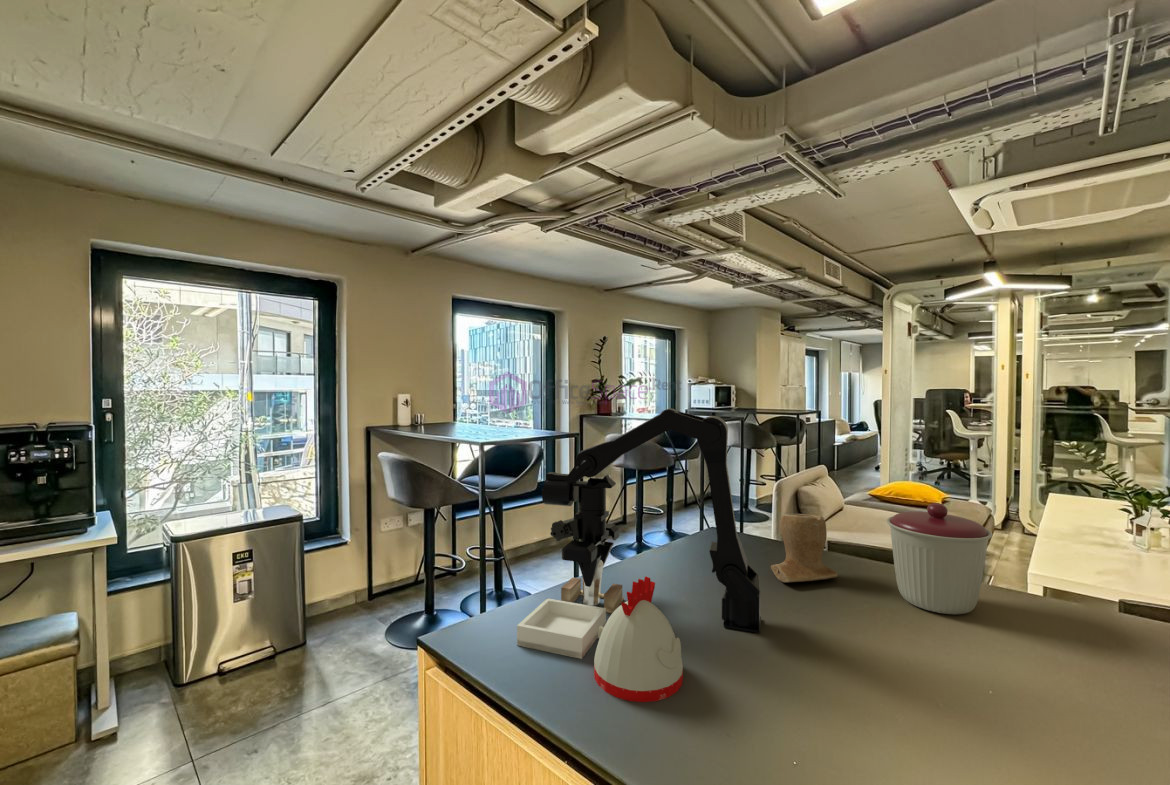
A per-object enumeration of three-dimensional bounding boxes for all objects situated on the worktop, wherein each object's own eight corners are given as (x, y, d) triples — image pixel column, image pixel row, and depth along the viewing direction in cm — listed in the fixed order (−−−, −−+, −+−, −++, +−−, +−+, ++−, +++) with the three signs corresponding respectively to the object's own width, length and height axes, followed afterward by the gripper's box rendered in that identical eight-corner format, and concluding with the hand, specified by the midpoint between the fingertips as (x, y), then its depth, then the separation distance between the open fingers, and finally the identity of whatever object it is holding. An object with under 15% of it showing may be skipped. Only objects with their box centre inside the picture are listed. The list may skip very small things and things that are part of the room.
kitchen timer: (698, 672, 81) (699, 578, 81) (651, 715, 71) (652, 607, 71) (627, 643, 90) (627, 559, 90) (576, 677, 80) (576, 582, 80)
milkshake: (575, 605, 104) (577, 555, 105) (585, 598, 109) (586, 550, 110) (596, 609, 103) (597, 558, 104) (605, 601, 108) (606, 553, 108)
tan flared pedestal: (810, 565, 130) (811, 506, 129) (845, 583, 118) (846, 518, 118) (757, 570, 126) (758, 510, 126) (788, 589, 114) (788, 522, 114)
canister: (866, 592, 113) (867, 496, 113) (929, 583, 118) (930, 492, 118) (943, 629, 96) (945, 517, 95) (1014, 617, 101) (1016, 511, 100)
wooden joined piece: (623, 599, 109) (623, 583, 109) (613, 613, 102) (613, 595, 102) (574, 591, 113) (574, 575, 113) (561, 604, 106) (561, 587, 106)
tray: (605, 626, 96) (605, 608, 96) (581, 659, 85) (582, 638, 85) (547, 615, 101) (547, 598, 101) (517, 645, 90) (517, 625, 89)
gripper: (573, 495, 118) (573, 562, 119) (537, 514, 101) (537, 593, 101) (619, 499, 114) (619, 569, 115) (590, 520, 97) (590, 602, 97)
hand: (592, 582), depth 107 cm, fingers closed on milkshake, 4 cm apart
